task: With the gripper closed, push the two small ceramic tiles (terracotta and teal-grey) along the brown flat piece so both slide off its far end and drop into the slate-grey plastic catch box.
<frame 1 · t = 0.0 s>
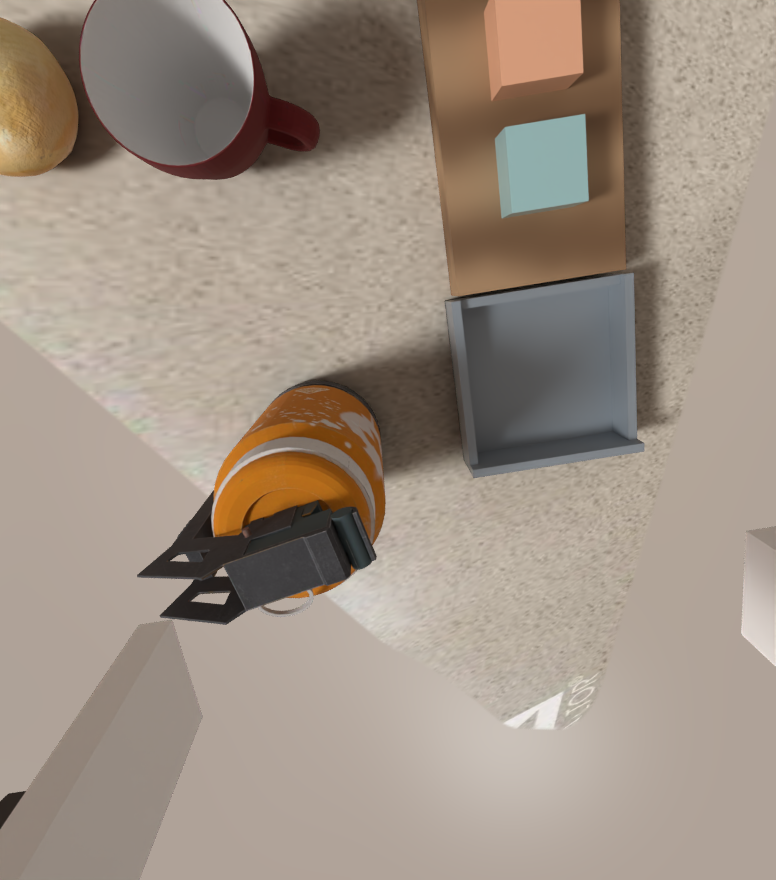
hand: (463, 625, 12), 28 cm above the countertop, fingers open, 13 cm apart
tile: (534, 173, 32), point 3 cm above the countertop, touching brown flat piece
canister: (308, 441, 40), on the countertop
mug: (245, 134, 34), on the countertop
onion: (33, 116, 34), on the countertop
catch box: (535, 371, 39), on the countertop
brown flat piece: (516, 124, 34), on the countertop
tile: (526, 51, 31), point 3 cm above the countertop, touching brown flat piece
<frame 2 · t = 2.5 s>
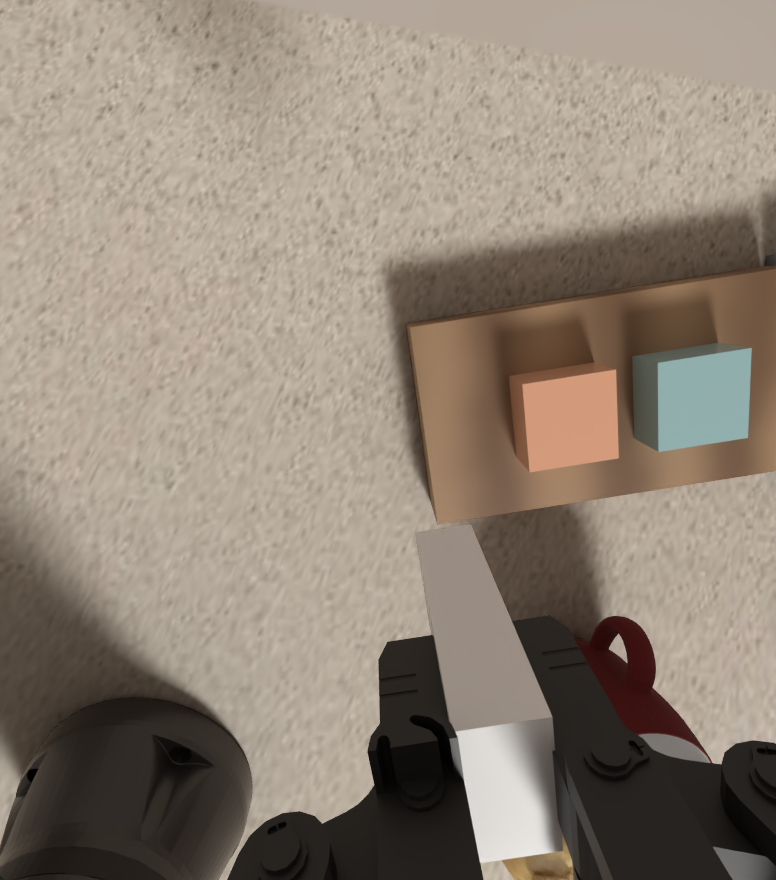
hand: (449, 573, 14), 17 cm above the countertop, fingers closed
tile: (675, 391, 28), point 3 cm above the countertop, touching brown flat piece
mug: (568, 643, 36), on the countertop
onion: (538, 793, 40), on the countertop
brown flat piece: (587, 391, 31), on the countertop
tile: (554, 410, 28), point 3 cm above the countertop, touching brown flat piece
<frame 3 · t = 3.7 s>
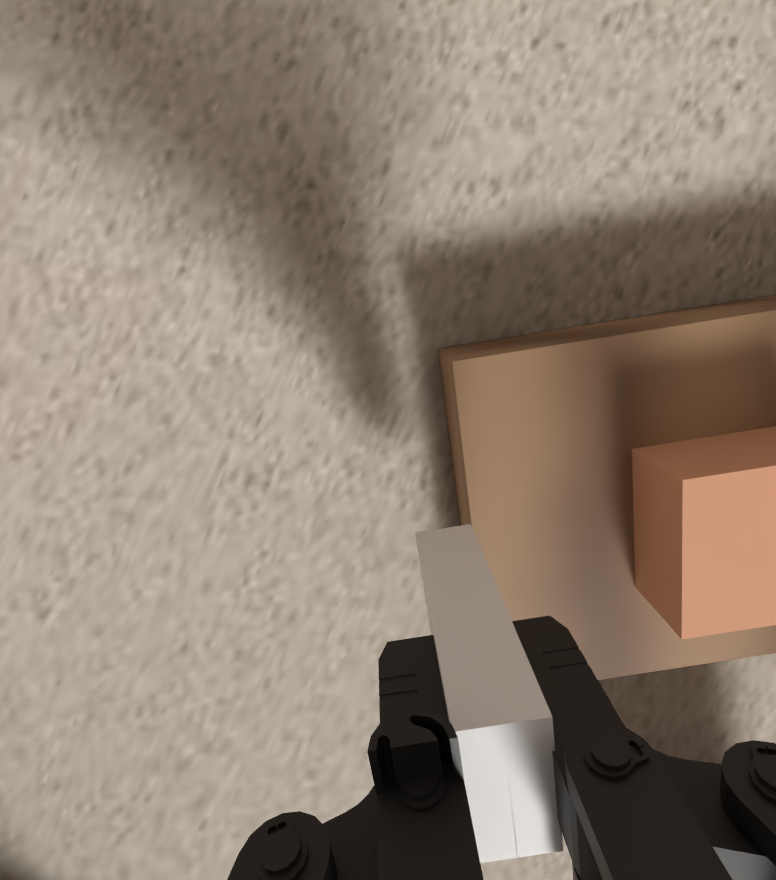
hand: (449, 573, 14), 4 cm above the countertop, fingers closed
brown flat piece: (741, 460, 18), on the countertop
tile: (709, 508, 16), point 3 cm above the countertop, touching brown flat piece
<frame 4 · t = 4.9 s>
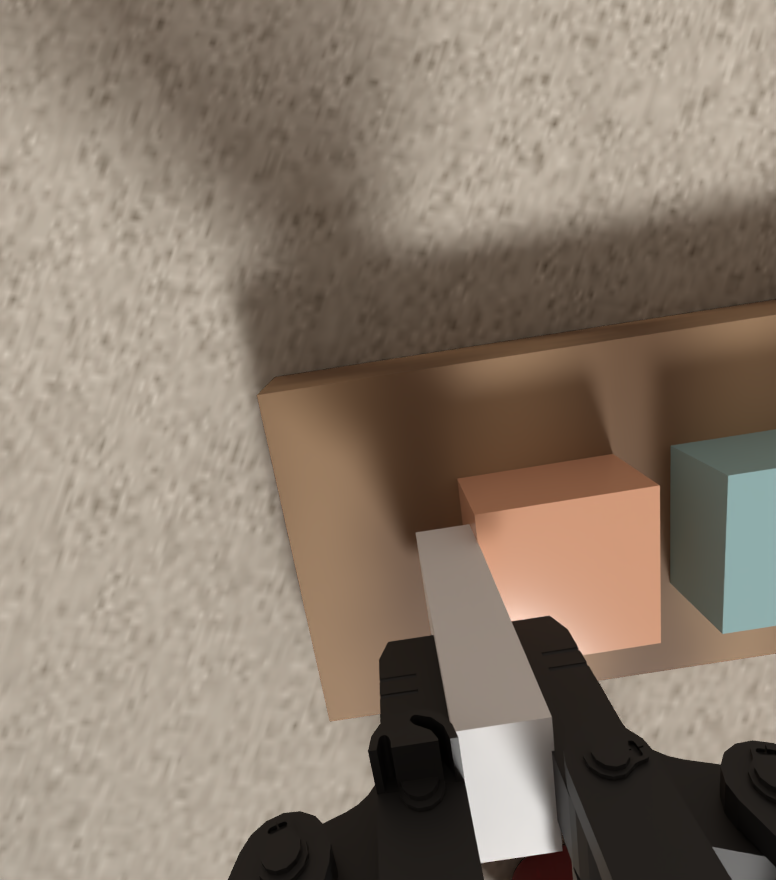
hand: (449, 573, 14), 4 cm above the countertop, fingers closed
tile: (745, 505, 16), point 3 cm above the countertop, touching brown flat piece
mug: (558, 851, 24), on the countertop
brown flat piece: (588, 486, 19), on the countertop
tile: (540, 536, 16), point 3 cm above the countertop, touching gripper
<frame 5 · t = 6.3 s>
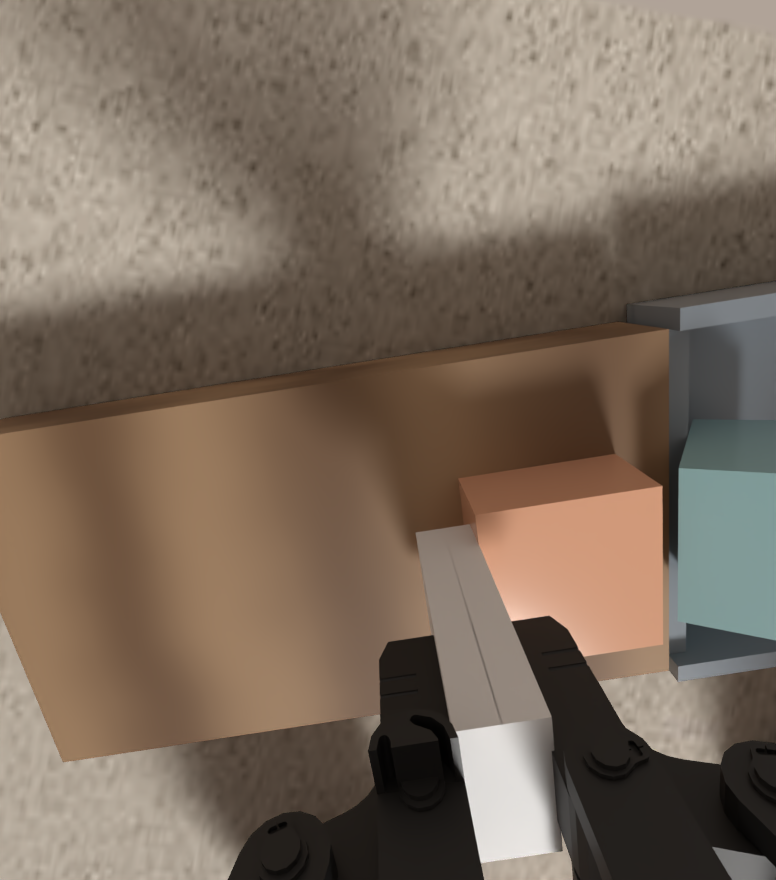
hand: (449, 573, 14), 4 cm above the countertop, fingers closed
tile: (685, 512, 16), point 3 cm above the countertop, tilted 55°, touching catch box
brown flat piece: (339, 524, 19), on the countertop
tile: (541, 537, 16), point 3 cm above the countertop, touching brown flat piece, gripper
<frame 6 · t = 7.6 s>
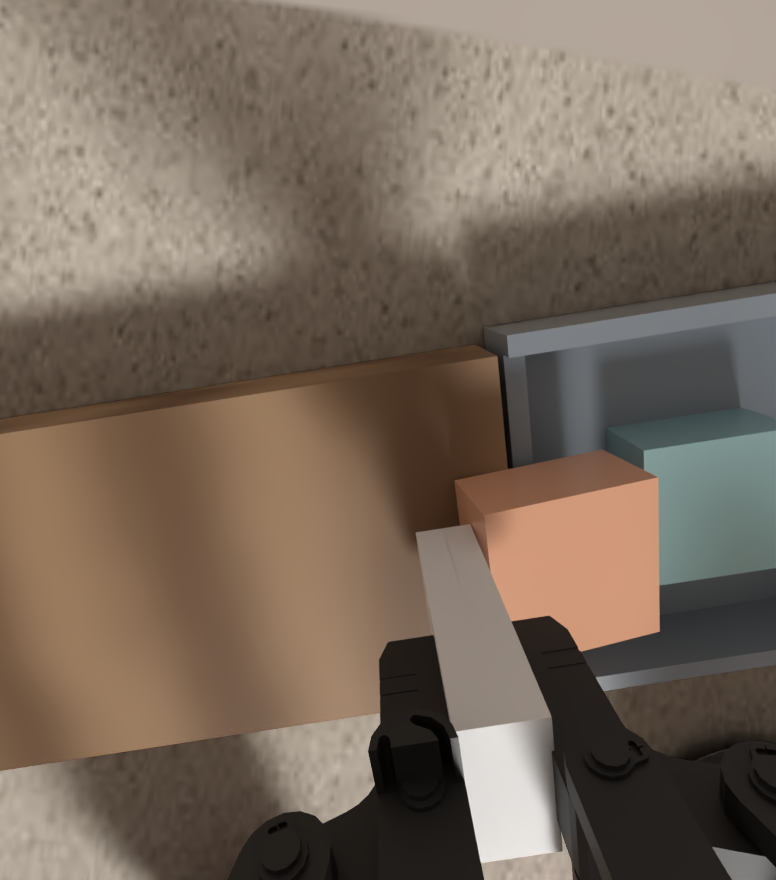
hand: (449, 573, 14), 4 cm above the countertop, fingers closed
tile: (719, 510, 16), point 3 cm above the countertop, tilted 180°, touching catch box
catch box: (669, 472, 19), on the countertop
brown flat piece: (211, 543, 19), on the countertop
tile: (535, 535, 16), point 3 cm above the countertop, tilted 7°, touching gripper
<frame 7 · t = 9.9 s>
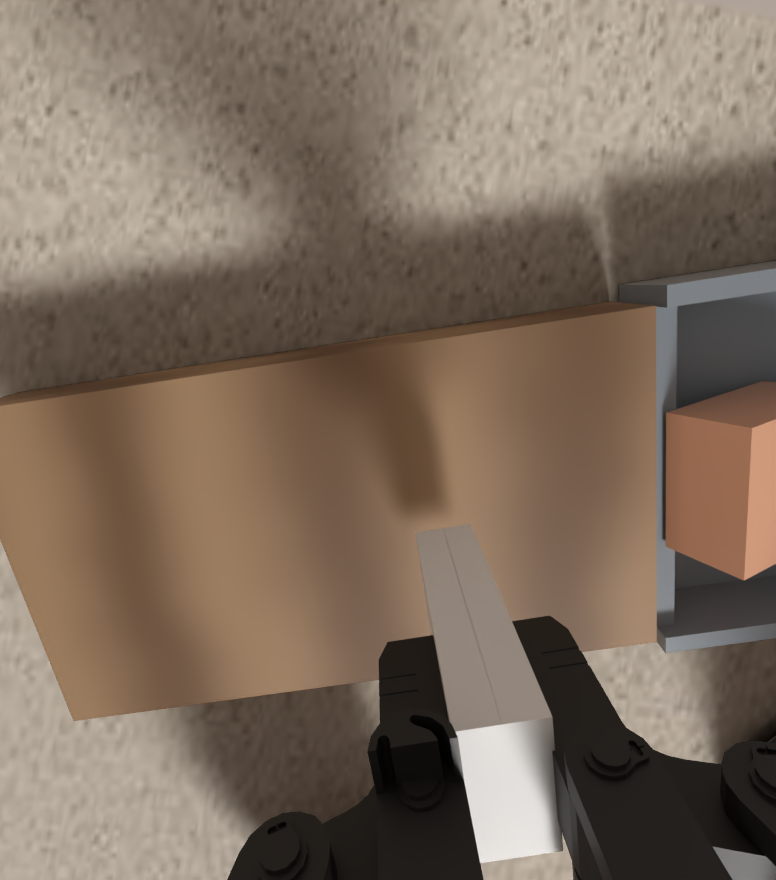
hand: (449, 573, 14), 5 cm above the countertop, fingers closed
brown flat piece: (338, 498, 19), on the countertop
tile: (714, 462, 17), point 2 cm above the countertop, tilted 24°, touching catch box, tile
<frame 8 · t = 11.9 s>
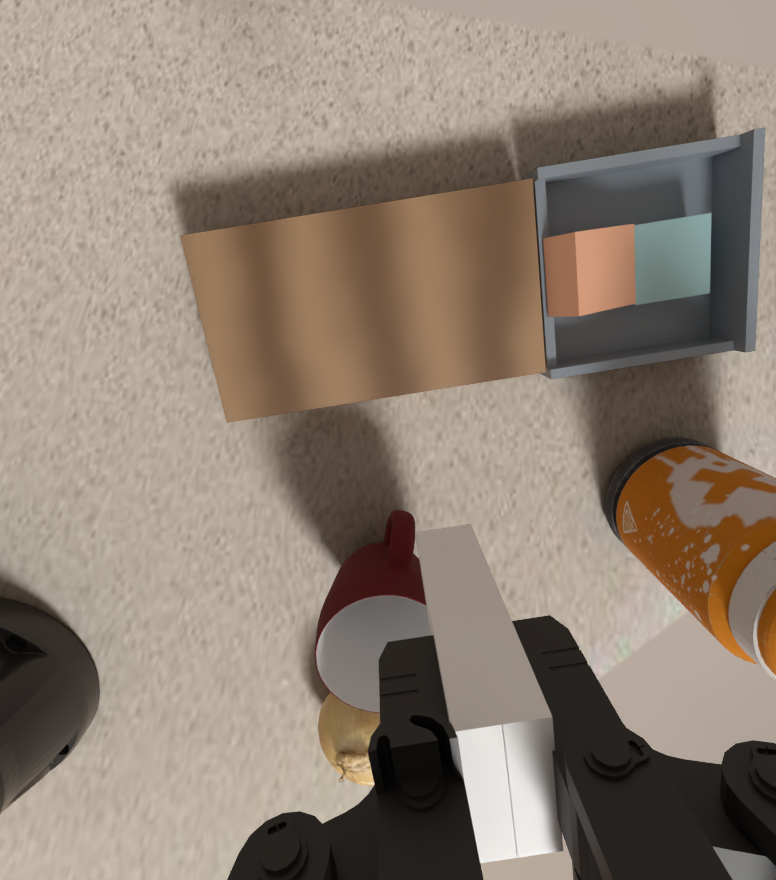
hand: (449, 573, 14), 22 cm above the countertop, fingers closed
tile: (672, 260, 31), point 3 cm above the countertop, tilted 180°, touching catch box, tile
canister: (663, 505, 39), on the countertop
mug: (382, 549, 39), on the countertop
onion: (371, 696, 43), on the countertop
catch box: (622, 264, 34), on the countertop
brown flat piece: (371, 305, 34), on the countertop
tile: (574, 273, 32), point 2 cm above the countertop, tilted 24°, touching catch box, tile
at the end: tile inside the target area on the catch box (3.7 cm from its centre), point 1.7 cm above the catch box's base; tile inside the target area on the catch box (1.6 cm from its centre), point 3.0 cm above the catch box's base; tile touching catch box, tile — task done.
